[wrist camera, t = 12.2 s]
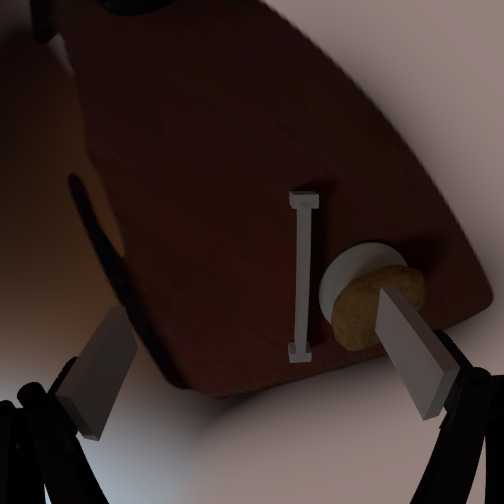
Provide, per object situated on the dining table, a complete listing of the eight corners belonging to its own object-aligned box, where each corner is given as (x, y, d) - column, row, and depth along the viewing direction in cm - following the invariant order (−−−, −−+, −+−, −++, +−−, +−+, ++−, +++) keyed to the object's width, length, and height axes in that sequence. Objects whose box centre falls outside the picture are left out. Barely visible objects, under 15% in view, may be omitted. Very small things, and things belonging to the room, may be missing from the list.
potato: (418, 289, 41) (445, 315, 34) (340, 339, 44) (355, 373, 36) (396, 236, 38) (425, 256, 31) (309, 292, 41) (322, 323, 33)
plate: (320, 243, 40) (322, 245, 39) (413, 240, 40) (416, 242, 39) (315, 333, 44) (316, 337, 43) (399, 324, 44) (401, 328, 43)
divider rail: (289, 191, 37) (293, 195, 35) (313, 191, 37) (318, 194, 35) (288, 350, 45) (290, 362, 42) (307, 349, 45) (310, 361, 42)
